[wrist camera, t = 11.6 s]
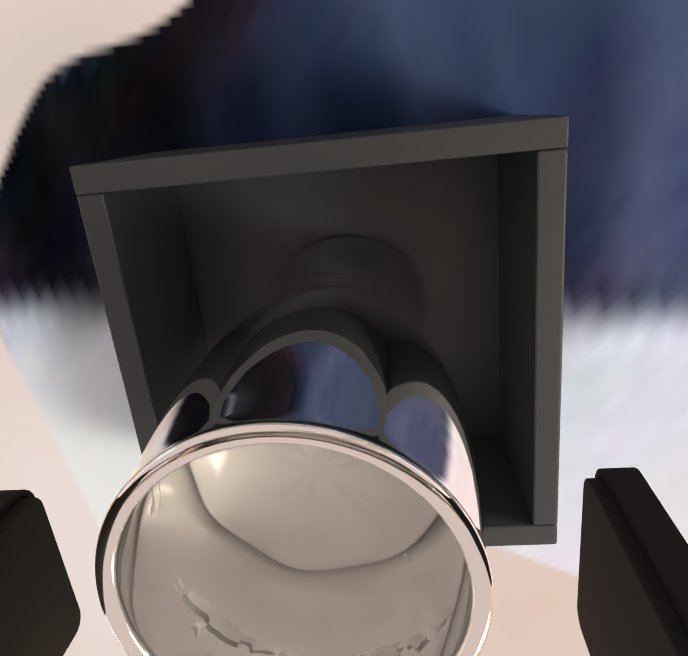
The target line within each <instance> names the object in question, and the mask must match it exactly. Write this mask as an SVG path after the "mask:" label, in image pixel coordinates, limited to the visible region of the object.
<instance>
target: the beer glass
mask: <svg viewBox="0 0 688 656" xmlns="http://www.w3.org/2000/svg"><path fill="white" fill-rule="evenodd" d="M423 322H424V300H423V295H422V291H421V288H420V285H419V283H418V281H417V278H416V276H415V275H414V273H413V271H412V270H411V268H410V267H409V266H408V264H407V263H406V262H405V261H404V260H403V259H402V258H401V257H400V256H399V255H397V254H396V253H395V252H394V251H392V250H391V249H389V248H387V247H386V246H384V245H382V244H380V243H377V242H375V241H372V240H369V239H365V238H359V237H347V236H345V237H334V238H329V239H325V240H322V241H319V242H317V243H314V244H312V245H310V246H309V247H307V248H305V249H304V250H302V251H301V252H300V253H298V254H297V255H296V256H295V257H294V258H293V259H292V260H291V261H290V262H289V263H288V265H287V266H286V267H285V269H284V270H283V272H282V274H281V276H280V278H279V280H278V282H277V285H276V288H275V292H274V296H273V300H272V301H270V302H269V303H267V304H265V305H264V306H262V307H260V308H259V309H257V310H256V311H254V312H253V313H251V314H250V315H249V316H248V317H246V318H245V319H244V320H242V321H241V322H240V323H239V324H237V325H236V326H235V327H234V328H232V329H231V330H230V331H229V332H227V333H226V334H225V335H224V336H223V337H222V338H221V339H220V340H219V341H218V342H217V343H216V345H215V346H214V347H213V348H212V349H211V350H210V352H209V353H208V354H207V355H206V356H205V357H204V359H203V360H202V361H201V362H200V363H199V364H198V366H197V367H196V368H195V369H194V370H193V372H192V373H191V374H190V376H189V377H188V379H187V380H186V382H185V383H184V385H183V386H182V388H181V389H180V391H179V392H178V394H177V395H176V397H175V398H174V400H173V401H172V403H171V404H170V406H169V407H168V409H167V411H166V412H165V414H164V416H163V418H162V419H161V421H160V423H159V425H158V426H157V428H156V430H155V432H154V433H153V435H152V437H151V439H150V441H149V442H148V444H147V446H146V448H145V450H144V452H143V454H142V456H141V457H140V459H139V461H138V463H137V465H136V467H135V469H134V471H133V473H132V474H131V476H130V478H129V480H128V481H127V483H126V484H125V486H124V487H123V488H122V489H121V491H120V492H119V493H118V495H117V496H116V498H115V499H114V501H113V503H112V504H111V506H110V508H109V510H108V512H107V514H106V516H105V519H104V521H103V524H102V527H101V530H100V533H99V537H98V542H97V548H96V556H95V576H96V585H97V590H98V595H99V599H100V603H101V606H102V609H103V612H104V615H105V618H106V620H107V622H108V624H109V626H110V628H111V630H112V632H113V634H114V636H115V638H116V639H117V641H118V642H119V644H120V646H121V647H122V648H123V650H124V651H125V653H126V654H127V655H128V656H479V654H480V652H481V650H482V648H483V646H484V643H485V641H486V638H487V635H488V632H489V628H490V624H491V620H492V614H493V602H494V588H493V578H492V573H491V567H490V563H489V560H488V556H487V552H486V543H485V533H484V522H483V511H482V502H481V494H480V486H479V478H478V471H477V465H476V460H475V455H474V450H473V445H472V440H471V435H470V430H469V426H468V423H467V420H466V417H465V413H464V410H463V407H462V404H461V401H460V398H459V395H458V392H457V389H456V387H455V384H454V382H453V380H452V378H451V376H450V374H449V372H448V370H447V368H446V366H445V365H444V363H443V361H442V359H441V358H440V356H439V354H438V352H437V350H436V349H435V347H434V346H433V344H432V343H431V341H430V340H429V339H428V337H427V336H426V335H425V333H424V332H423V331H422V327H423Z"/></svg>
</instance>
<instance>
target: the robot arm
mask: <svg viewBox="0 0 688 656" xmlns="http://www.w3.org/2000/svg"><path fill="white" fill-rule="evenodd" d="M577 609H578V617H579V623H580V627H581V630H582V633H583V636H584V639H585V642H586V645H587V648H588V651H589V653H590V656H688V544H687V542H686V541H685V539H684V538H683V536H682V535H681V533H680V532H679V530H678V529H677V527H676V526H675V524H674V523H673V521H672V520H671V518H670V517H669V515H668V513H667V512H666V510H665V509H664V507H663V506H662V504H661V503H660V501H659V500H658V498H657V497H656V495H655V494H654V492H653V491H652V489H651V488H650V486H649V484H648V483H647V481H646V480H645V478H644V477H643V475H642V474H641V472H640V471H639V470H638V469H637V468H634V467H632V468H605V469H598V470H597V472H596V474H595V478H587V479H585V482H584V489H583V508H582V526H581V545H580V563H579V582H578V601H577ZM79 625H80V609H79V606H78V603H77V600H76V598H75V594H74V592H73V589H72V586H71V583H70V580H69V577H68V574H67V572H66V569H65V566H64V563H63V560H62V557H61V554H60V552H59V549H58V546H57V543H56V540H55V537H54V534H53V531H52V529H51V526H50V523H49V520H48V517H47V514H46V511H45V508H44V506H43V503H42V501H41V500H39V499H38V498H35V496H34V494H33V493H31V492H30V491H29V490H4V491H3V490H2V491H0V656H63V655H64V653H65V652H66V649H67V648H68V647H69V645H70V643H71V642H72V640H73V638H74V636H75V635H76V633H77V631H78V628H79Z"/></svg>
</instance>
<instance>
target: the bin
mask: <svg viewBox="0 0 688 656" xmlns="http://www.w3.org/2000/svg"><path fill="white" fill-rule="evenodd" d="M568 132H569V116H568V115H505V116H496V117H486V118H477V119H467V120H457V121H448V122H438V123H429V124H419V125H410V126H400V127H391V128H381V129H371V130H362V131H352V132H343V133H333V134H324V135H314V136H305V137H295V138H285V139H276V140H266V141H257V142H247V143H238V144H228V145H218V146H209V147H199V148H190V149H180V150H171V151H161V152H154V153H148V154H142V155H136V156H130V157H125V158H119V159H113V160H107V161H101V162H95V163H89V164H83V165H77V166H71V167H70V173H71V177H72V181H73V185H74V189H75V193H76V195H79V196H78V197H77V199H78V203H79V207H80V211H81V215H82V219H83V223H84V227H85V231H86V235H87V239H88V243H89V247H90V251H91V255H92V259H93V263H94V267H95V271H96V275H97V279H98V283H99V287H100V291H101V295H102V299H103V303H104V307H105V311H106V315H107V318H108V322H109V326H110V330H111V334H112V338H113V342H114V346H115V350H116V354H117V358H118V362H119V366H120V370H121V374H122V378H123V382H124V386H125V390H126V394H127V398H128V402H129V406H130V410H131V414H132V418H133V422H134V426H135V430H136V434H137V438H138V442H139V446H140V449H141V453H142V454H143V452H144V450H145V448H146V446H147V444H148V442H149V441H150V439H151V437H152V435H153V433H154V432H155V430H156V428H157V426H158V425H159V423H160V421H161V419H162V418H163V416H164V414H165V412H166V411H167V409H168V407H169V406H170V404H171V403H172V401H173V400H174V398H175V397H176V395H177V394H178V392H179V391H180V389H181V388H182V386H183V385H184V383H185V382H186V380H187V379H188V377H189V376H190V374H191V373H192V372H193V370H194V369H195V368H196V367H197V366H198V364H199V363H200V362H201V361H202V360H203V359H204V357H205V356H206V355H207V354H208V353H209V352H210V350H211V349H212V348H213V347H214V346H215V345H216V343H217V342H218V341H219V340H220V339H221V338H222V337H223V336H224V335H225V334H226V333H227V332H229V331H230V330H231V329H232V328H234V327H235V326H236V325H237V324H239V323H240V322H241V321H242V320H244V319H245V318H246V317H248V316H249V315H250V314H251V313H253V312H254V311H256V310H257V309H259V308H260V307H262V306H264V305H265V304H267V303H269V302H270V301H272V300H273V296H274V292H275V288H276V285H277V282H278V280H279V278H280V276H281V274H282V272H283V270H284V269H285V267H286V266H287V265H288V263H289V262H290V261H291V260H292V259H293V258H294V257H295V256H296V255H297V254H298V253H300V252H301V251H302V250H304V249H305V248H307V247H309V246H310V245H312V244H314V243H317V242H319V241H322V240H325V239H329V238H334V237H345V236H347V237H359V238H365V239H369V240H372V241H375V242H377V243H380V244H382V245H384V246H386V247H387V248H389V249H391V250H392V251H394V252H395V253H396V254H397V255H399V256H400V257H401V258H402V259H403V260H404V261H405V262H406V263H407V264H408V266H409V267H410V268H411V270H412V271H413V273H414V275H415V276H416V278H417V281H418V283H419V285H420V288H421V291H422V295H423V300H424V322H423V327H422V331H423V332H424V333H425V335H426V336H427V337H428V339H429V340H430V341H431V343H432V344H433V346H434V347H435V349H436V350H437V352H438V354H439V356H440V358H441V359H442V361H443V363H444V365H445V366H446V368H447V370H448V372H449V374H450V376H451V378H452V380H453V382H454V384H455V387H456V389H457V392H458V395H459V398H460V401H461V404H462V407H463V410H464V413H465V417H466V420H467V423H468V426H469V430H470V435H471V440H472V445H473V450H474V455H475V460H476V465H477V471H478V478H479V486H480V494H481V502H482V511H483V522H484V533H485V543H486V546H507V545H538V544H556V542H557V513H558V477H559V442H560V406H561V371H562V335H563V300H564V264H565V228H566V193H567V157H568V150H567V148H566V147H568Z"/></svg>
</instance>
